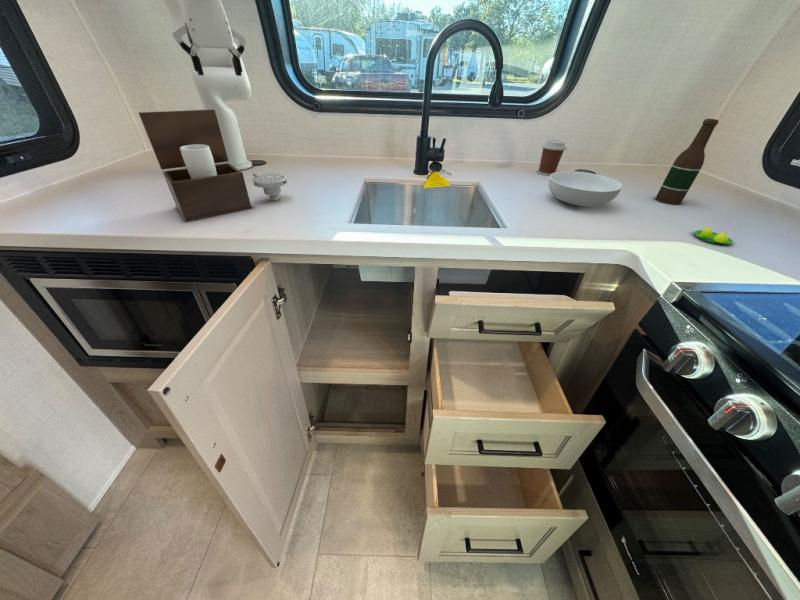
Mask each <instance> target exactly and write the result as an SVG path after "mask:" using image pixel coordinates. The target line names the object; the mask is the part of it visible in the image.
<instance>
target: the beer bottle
mask: <svg viewBox="0 0 800 600" xmlns="http://www.w3.org/2000/svg"><path fill="white" fill-rule="evenodd" d="M717 125H719V120H718V119H717V118H716V119H715V118H705V119H704V120H703V121H702V125H701V127H700V129H699V130H698V132H697V134H696V135H695V137H694V138H693V140H692V142H691V143H690V144H689V146H688V147H687V148H686V149H684V150H683V151H681V152H680V153H679V155H678V156H677V157H676V158H675V160H674V162H673V164H672V165H671V167H670V169H669V171H668V173H667V175H666V176H665V178H664V180H663V183H662V185H661V186H660V188H659V190H658V192H657V194H656V196H655V200H656V201H658V202H660V203H664V204H668V205H680V204H682V202H683V201H684V200H685V198H686V195H687V194H688V192H689V190H690V189H691V187H692V185H693V183H694V182H695V180H696V178H697V177H698V175H699V173H700V171H701V170H702V167H703V165H704V163H705V157H706V154H705V149H706V146H707V144H708V142H709V140H710V138H711V137H712V134H713V132H714V130H715V128H716V127H717Z"/></svg>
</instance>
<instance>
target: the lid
mask: <svg viewBox="0 0 800 600" xmlns="http://www.w3.org/2000/svg"><path fill="white" fill-rule="evenodd" d="M138 115H139V118H140V120H141V123H142V125H143V127H144V130H145V132H146V135H147V138H148V140H149V143H150V145H151V147H152V150H153V153H154V155H155V157H156V160H157V162H158V165H159V167H160V170H162V171H164V170H173V169H181V168H186V166H185V163H184V160H183V158H182V154H181V151H180V147H182V146H186V145H196V144H201V145H208V146H209V147H210V150H211V153H212V156H213V159H214V163H215V164H218V163H220V162H229V160H228V157H227V153H226V149H225V146H224V142H223V138H222V135H221V131H220V127H219V124H218V120H217V116H216V112H215V110H214V109H209V110H205V109H187V110H164V111H162V110H161V111H139V112H138Z"/></svg>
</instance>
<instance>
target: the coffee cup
mask: <svg viewBox="0 0 800 600" xmlns="http://www.w3.org/2000/svg"><path fill="white" fill-rule="evenodd" d="M541 148H542V152H541V156H540V161H539V162H540V163H539V167H538V171H537V173H539V174H540V175H545V176H550V175H551V174H552V173H555V172H557V168H558V166H559V164H560V162H561V159H562V156H563V154H564V151H566V150H567V149H568V147H567V146H566V141H564V140H562V139H553V138H551V139H546V140H545V142H544V143H542V144H541Z"/></svg>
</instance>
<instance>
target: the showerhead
mask: <svg viewBox="0 0 800 600" xmlns="http://www.w3.org/2000/svg"><path fill="white" fill-rule="evenodd" d="M252 176H253V178H252V182H253V186H255V187H257V188H261V189H263V193H264V195H266V196H269V198H270V201H271V202H275V201H278V200H279V195H280V194H282V188H281V187H283V186H286V185H287V184H288V178H287V176H286V175H284V174H281V173H272V172H271V173H266V174H265V173H263V174H259V175H258V174H257V173H254V172H253V174H252Z"/></svg>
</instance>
